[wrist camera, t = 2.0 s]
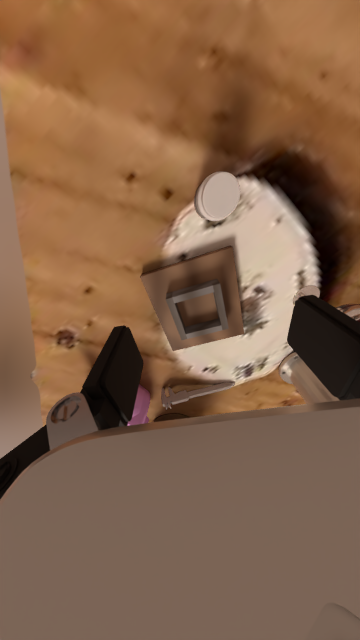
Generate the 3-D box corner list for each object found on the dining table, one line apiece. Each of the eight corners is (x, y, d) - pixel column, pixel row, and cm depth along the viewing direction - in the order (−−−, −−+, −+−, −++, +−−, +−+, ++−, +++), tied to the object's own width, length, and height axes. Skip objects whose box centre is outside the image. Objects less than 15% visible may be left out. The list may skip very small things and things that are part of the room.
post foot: (230, 245, 28) (237, 250, 25) (241, 329, 37) (248, 341, 34) (141, 274, 30) (137, 281, 27) (173, 346, 40) (172, 358, 36)
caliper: (162, 389, 49) (160, 410, 43) (162, 386, 48) (160, 408, 43) (234, 383, 48) (241, 404, 42) (234, 380, 47) (241, 402, 42)
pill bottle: (231, 188, 24) (253, 177, 17) (217, 224, 26) (231, 228, 19) (200, 174, 23) (211, 157, 16) (189, 212, 26) (193, 212, 19)
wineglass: (286, 290, 32) (335, 324, 22) (324, 275, 31) (396, 305, 21) (290, 317, 36) (334, 358, 26) (325, 305, 34) (387, 343, 24)
